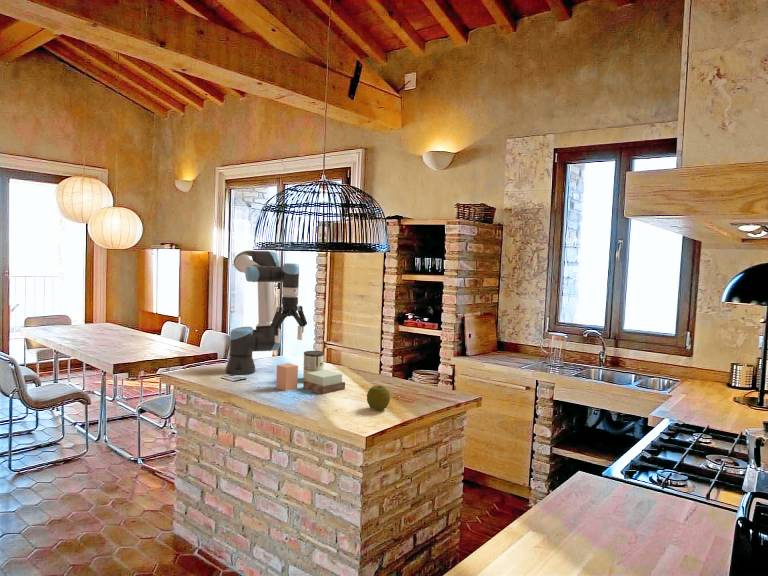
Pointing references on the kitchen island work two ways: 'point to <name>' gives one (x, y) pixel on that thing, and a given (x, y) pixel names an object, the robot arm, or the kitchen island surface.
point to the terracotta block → (287, 376)
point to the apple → (378, 397)
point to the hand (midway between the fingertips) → (288, 341)
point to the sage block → (324, 377)
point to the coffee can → (313, 362)
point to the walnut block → (324, 387)
